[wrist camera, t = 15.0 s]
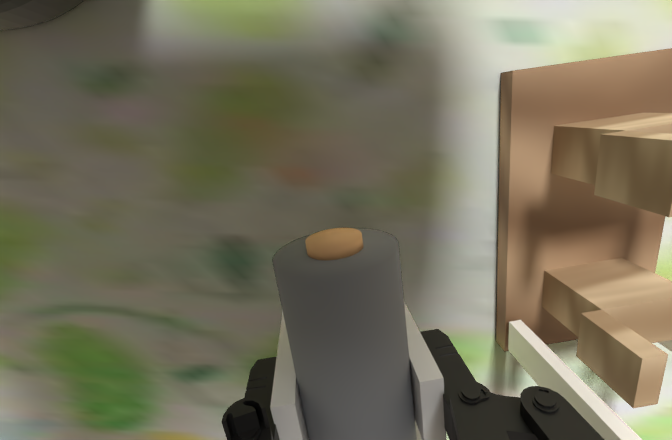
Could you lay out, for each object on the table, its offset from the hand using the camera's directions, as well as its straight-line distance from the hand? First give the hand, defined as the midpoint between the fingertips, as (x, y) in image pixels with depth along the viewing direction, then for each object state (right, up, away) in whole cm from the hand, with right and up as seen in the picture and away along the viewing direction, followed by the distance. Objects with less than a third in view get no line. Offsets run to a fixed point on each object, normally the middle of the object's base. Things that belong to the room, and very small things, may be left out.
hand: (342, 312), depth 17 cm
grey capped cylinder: (0, -1, -3) cm, 3 cm away
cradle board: (+13, +5, +2) cm, 14 cm away
